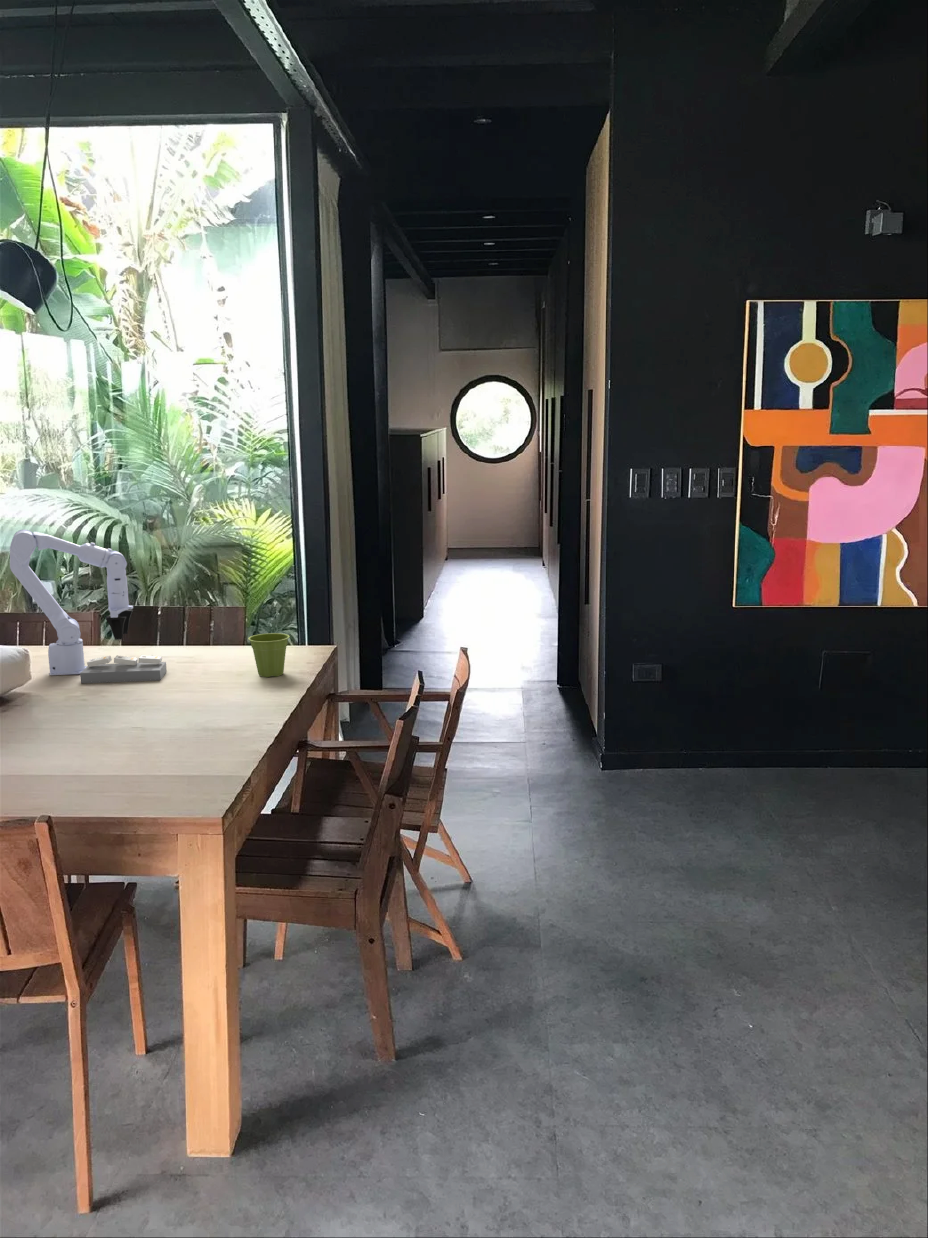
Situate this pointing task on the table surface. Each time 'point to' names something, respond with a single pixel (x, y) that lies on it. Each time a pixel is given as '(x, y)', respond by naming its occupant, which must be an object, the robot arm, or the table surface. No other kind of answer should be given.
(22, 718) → the table surface
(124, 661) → the rocker middle
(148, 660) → the rocker right
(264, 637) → the plant pot
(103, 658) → the rocker left
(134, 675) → the grey flat tray
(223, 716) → the table surface
